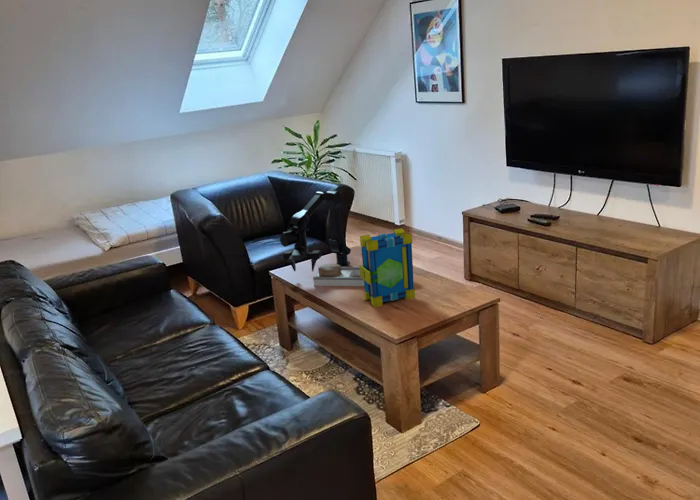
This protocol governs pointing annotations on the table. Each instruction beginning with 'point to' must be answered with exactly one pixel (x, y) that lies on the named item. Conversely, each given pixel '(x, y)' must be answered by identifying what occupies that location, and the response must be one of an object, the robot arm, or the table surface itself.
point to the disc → (330, 270)
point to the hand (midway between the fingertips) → (303, 271)
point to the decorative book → (387, 267)
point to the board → (341, 278)
